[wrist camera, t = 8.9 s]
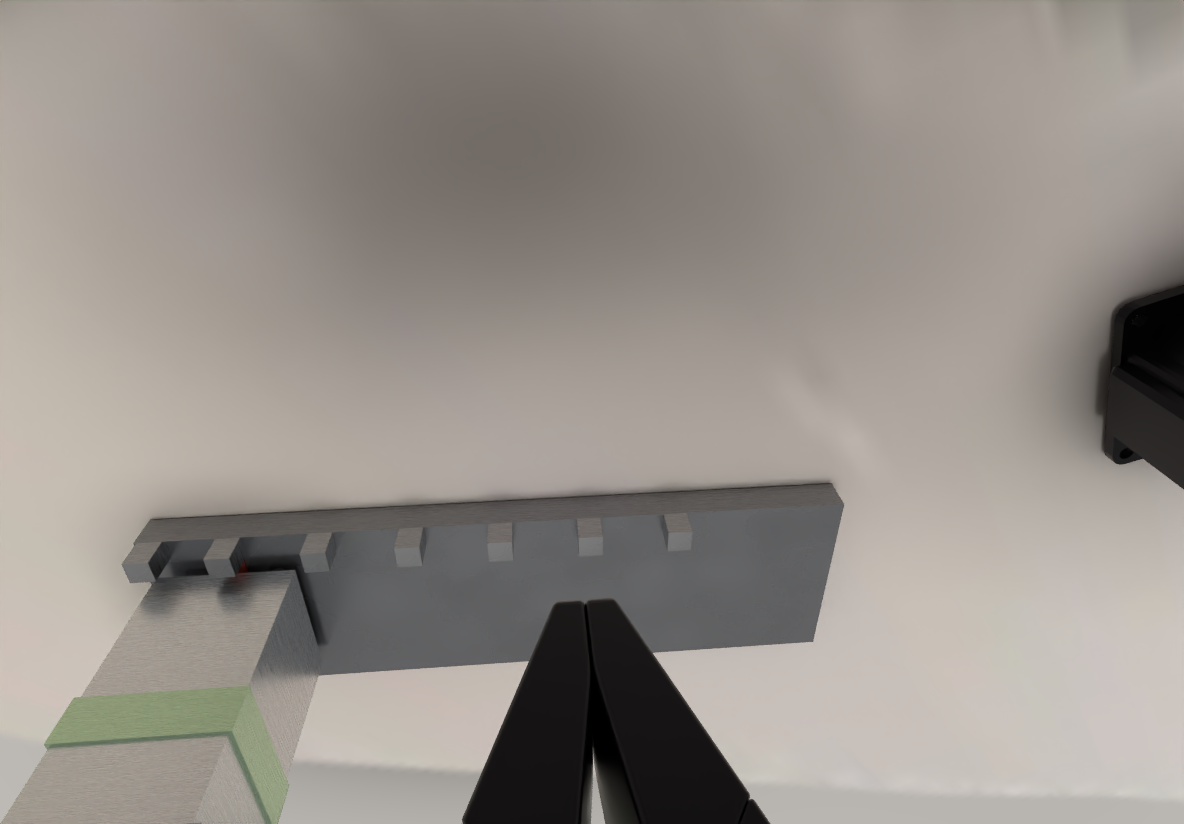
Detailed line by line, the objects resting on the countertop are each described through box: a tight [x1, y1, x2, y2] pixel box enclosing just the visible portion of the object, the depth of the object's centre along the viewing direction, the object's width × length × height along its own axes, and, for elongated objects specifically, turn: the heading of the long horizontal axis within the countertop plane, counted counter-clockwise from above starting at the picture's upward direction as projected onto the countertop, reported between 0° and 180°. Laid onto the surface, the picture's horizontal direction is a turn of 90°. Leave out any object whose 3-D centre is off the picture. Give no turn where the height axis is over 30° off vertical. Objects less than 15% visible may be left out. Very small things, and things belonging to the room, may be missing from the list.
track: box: [122, 484, 844, 675], centre depth 25 cm, size 24×7×4 cm, turn 90°
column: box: [1, 570, 322, 824], centre depth 21 cm, size 5×5×9 cm
